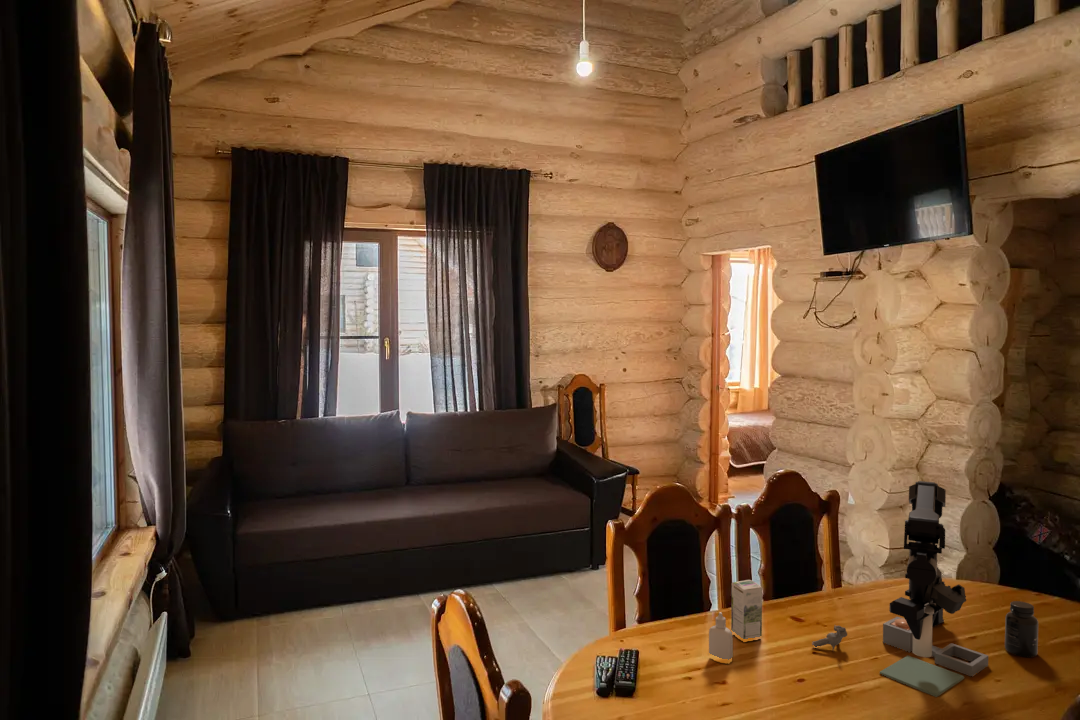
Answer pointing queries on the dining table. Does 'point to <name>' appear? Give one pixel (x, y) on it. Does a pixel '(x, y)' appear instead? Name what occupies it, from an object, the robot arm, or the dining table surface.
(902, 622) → the plunger
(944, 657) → the grey long framed piece
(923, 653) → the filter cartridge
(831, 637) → the grey limbed figure piece
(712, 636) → the eye dropper bottle
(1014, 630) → the supplement bottle
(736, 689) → the dining table surface
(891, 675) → the green mat
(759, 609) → the syrup box
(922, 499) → the robot arm
